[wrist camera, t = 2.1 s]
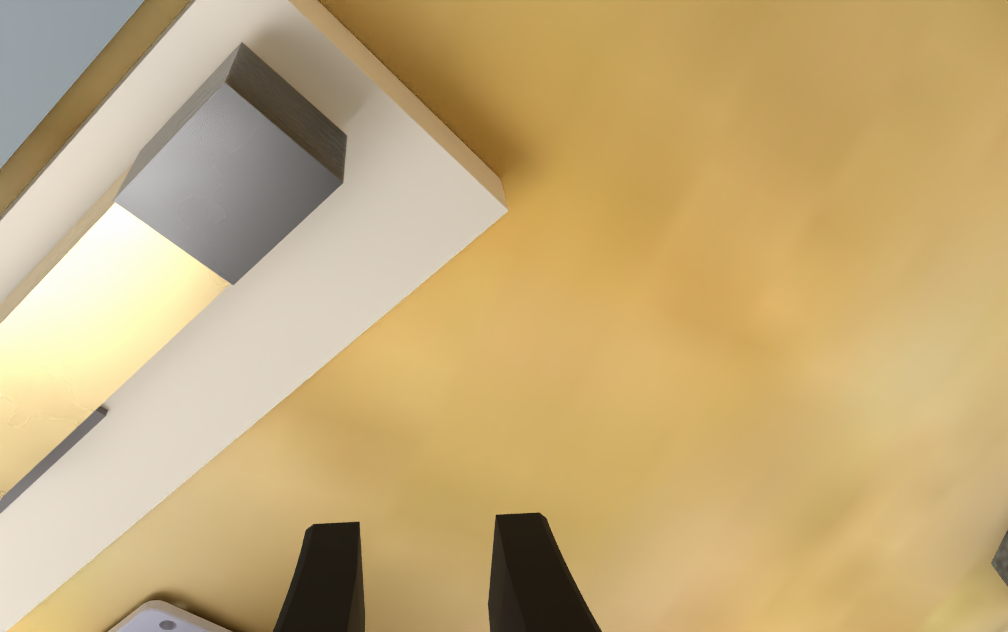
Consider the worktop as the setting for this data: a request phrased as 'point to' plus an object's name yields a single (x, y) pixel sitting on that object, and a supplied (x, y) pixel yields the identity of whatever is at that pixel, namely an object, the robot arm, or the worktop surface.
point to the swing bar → (159, 250)
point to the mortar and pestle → (1002, 560)
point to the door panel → (48, 56)
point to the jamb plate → (249, 302)
